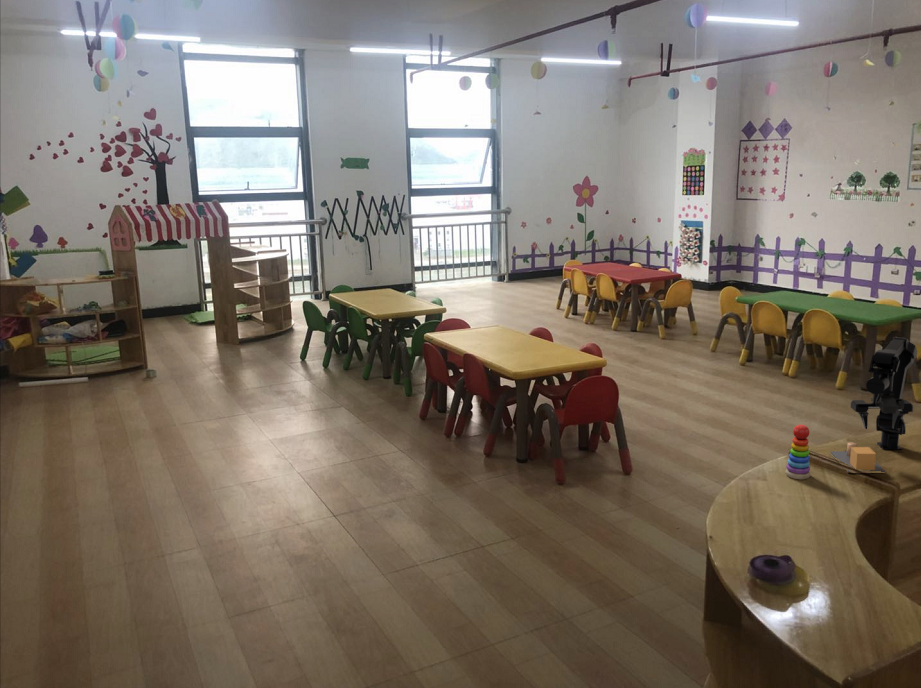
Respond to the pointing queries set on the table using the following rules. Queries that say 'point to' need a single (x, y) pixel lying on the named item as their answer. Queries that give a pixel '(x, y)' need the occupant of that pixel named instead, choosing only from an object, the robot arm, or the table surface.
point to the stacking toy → (799, 454)
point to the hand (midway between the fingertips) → (879, 428)
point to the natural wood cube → (862, 458)
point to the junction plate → (847, 459)
